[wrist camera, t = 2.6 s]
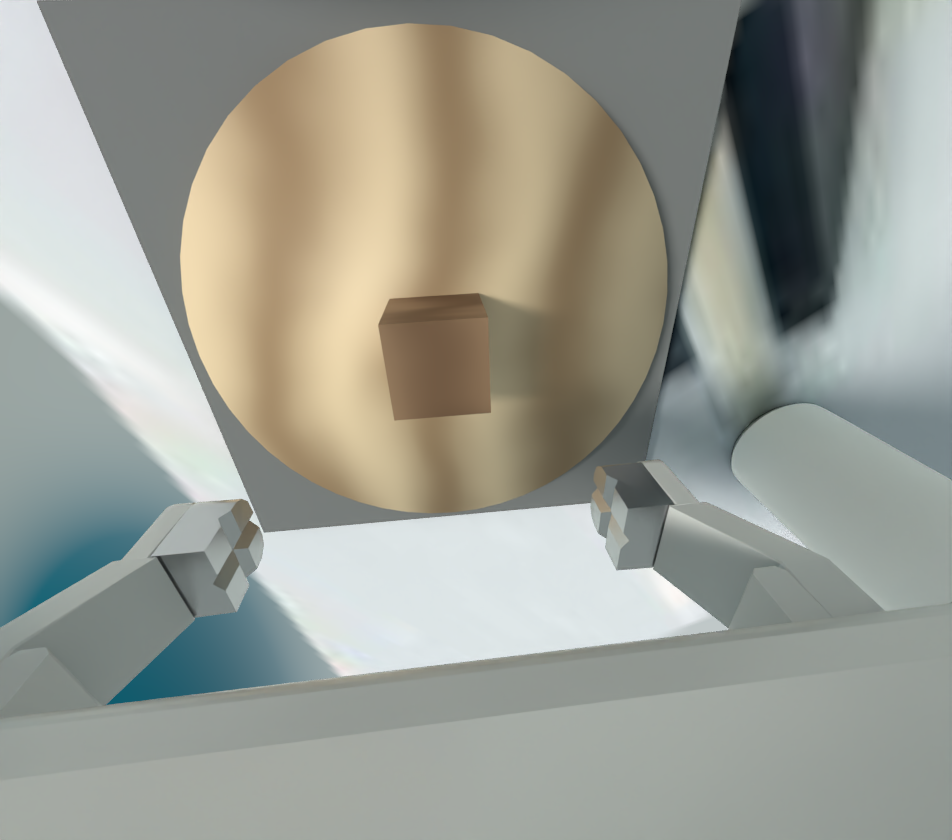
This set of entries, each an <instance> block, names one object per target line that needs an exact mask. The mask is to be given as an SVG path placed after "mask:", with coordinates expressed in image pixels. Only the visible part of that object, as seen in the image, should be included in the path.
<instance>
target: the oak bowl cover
mask: <svg viewBox="0 0 952 840" xmlns="http://www.w3.org/2000/svg"><path fill="white" fill-rule="evenodd" d="M180 264H181V280H182V293H183V298H184V303H185V308H186V313H187V318H188V323H189V327H190V330H191V333H192V336H193V339H194V342H195V345H196V347H197V350H198V353H199V356H200V358H201V360H202V362H203V364H204V366H205V368H206V370H207V372H208V375H209V377H210V379H211V381H212V383H213V385H214V386H215V388H216V389H217V391H218V392H219V394H220V395H221V397H222V398H223V400H224V402H225V403H226V405H227V406H228V408H229V409H230V410H231V412H232V413H233V414H234V415H235V417H236V418H237V419H238V420H239V421H240V423H241V424H242V425H243V426H244V427H245V429H246V430H247V431H248V432H249V433H250V434H251V435H252V436H253V437H254V438H255V439H256V440H257V441H258V442H259V443H260V444H261V445H262V446H263V447H264V448H265V449H266V450H267V451H268V452H270V453H271V454H272V455H274V456H275V457H276V458H277V459H279V460H280V461H281V462H283V463H284V464H285V465H286V466H288V467H289V468H290V469H292V470H294V471H295V472H297V473H298V474H300V475H302V476H303V477H305V478H307V479H308V480H310V481H311V482H313V483H315V484H317V485H319V486H321V487H323V488H325V489H328V490H330V491H332V492H334V493H336V494H338V495H341V496H344V497H347V498H349V499H352V500H355V501H358V502H361V503H365V504H368V505H372V506H376V507H380V508H385V509H391V510H398V511H404V512H416V513H449V512H460V511H467V510H474V509H480V508H484V507H488V506H492V505H496V504H500V503H503V502H506V501H509V500H512V499H515V498H517V497H520V496H523V495H525V494H527V493H529V492H531V491H534V490H536V489H538V488H540V487H542V486H544V485H546V484H548V483H549V482H551V481H553V480H554V479H556V478H558V477H559V476H561V475H562V474H564V473H566V472H567V471H568V470H570V469H571V468H572V467H574V466H575V465H576V464H578V463H579V462H580V461H581V460H583V459H584V458H585V457H586V456H587V455H588V454H589V453H591V452H592V451H593V450H594V449H595V448H596V447H597V446H598V445H599V444H600V443H601V442H602V441H603V440H604V439H605V438H606V437H607V435H608V434H609V433H610V432H611V431H612V430H613V428H614V427H615V426H616V425H617V424H618V423H619V421H620V420H621V418H622V417H623V415H624V414H625V413H626V411H627V410H628V408H629V407H630V405H631V404H632V402H633V401H634V399H635V397H636V395H637V393H638V391H639V390H640V388H641V386H642V384H643V382H644V380H645V378H646V376H647V373H648V371H649V368H650V366H651V363H652V361H653V358H654V355H655V353H656V350H657V346H658V342H659V338H660V334H661V331H662V327H663V323H664V315H665V307H666V299H667V255H666V247H665V239H664V231H663V226H662V223H661V219H660V215H659V211H658V208H657V204H656V200H655V197H654V194H653V191H652V189H651V187H650V184H649V182H648V180H647V177H646V175H645V173H644V170H643V168H642V166H641V163H640V161H639V160H638V158H637V156H636V155H635V153H634V151H633V150H632V148H631V146H630V145H629V143H628V142H627V140H626V138H625V137H624V135H623V133H622V132H621V130H620V129H619V128H618V127H617V125H616V124H615V123H614V122H613V120H612V119H611V118H610V117H609V116H608V114H607V113H606V112H605V111H604V110H603V108H602V107H601V106H600V105H599V104H598V102H597V101H596V100H595V99H594V98H592V97H591V96H590V95H589V94H588V93H587V92H586V91H585V90H583V89H582V88H581V87H580V86H579V85H578V84H577V83H576V82H574V81H573V80H572V79H571V78H570V77H569V76H568V75H566V74H565V73H564V72H562V71H560V70H559V69H557V68H556V67H554V66H552V65H551V64H549V63H548V62H546V61H545V60H543V59H541V58H540V57H538V56H537V55H535V54H534V53H532V52H530V51H528V50H525V49H523V48H521V47H518V46H516V45H514V44H511V43H509V42H506V41H504V40H502V39H499V38H497V37H495V36H492V35H488V34H484V33H479V32H475V31H471V30H467V29H463V28H458V27H454V26H446V25H429V24H412V23H406V24H398V25H390V26H381V27H373V28H365V29H362V30H359V31H356V32H352V33H349V34H346V35H343V36H339V37H336V38H333V39H330V40H326V41H324V42H322V43H320V44H318V45H316V46H314V47H312V48H311V49H309V50H307V51H305V52H303V53H301V54H299V55H297V56H295V57H293V58H291V59H289V60H288V61H286V62H285V63H284V64H282V65H281V66H280V67H279V68H277V69H276V70H275V71H273V72H272V73H271V74H269V75H268V76H267V77H266V78H264V79H263V80H262V81H260V82H259V83H258V84H257V85H255V86H254V87H253V89H252V90H251V91H250V92H249V93H248V94H247V95H246V96H245V97H244V98H243V100H242V101H241V102H240V103H239V104H238V105H237V106H236V107H235V108H234V110H233V111H232V112H231V113H230V114H229V115H228V116H227V118H226V120H225V121H224V123H223V124H222V126H221V128H220V129H219V131H218V132H217V134H216V135H215V137H214V139H213V140H212V142H211V143H210V145H209V147H208V148H207V150H206V152H205V155H204V157H203V160H202V162H201V164H200V167H199V169H198V171H197V174H196V176H195V179H194V181H193V183H192V187H191V191H190V195H189V199H188V203H187V207H186V211H185V216H184V220H183V229H182V241H181V252H180Z"/></svg>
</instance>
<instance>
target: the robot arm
mask: <svg viewBox="0 0 952 840" xmlns="http://www.w3.org/2000/svg"><path fill="white" fill-rule="evenodd" d="M593 481H594V482H595V484H596V486H597V489H596V490H595V491H594V493H593V494H592V495H591V514H592V519H593V522H594V526H595V528H596V530H597V532H598V533H599V534H600V535H602V536H603V537H605V538H606V545H605V548H606V550H607V552H608V554H609V556H610V558H611V560H612V562H613V564H614V566H615V568H616V570H626V569H638V568H651V567H654V568H653V569H654V570H655V571H656V572H658V573H659V574H660V575H661V576H663V577H664V578H665V579H667V580H668V581H669V582H670V583H672V584H673V585H674V586H675V587H677V588H678V589H679V590H681V591H682V592H683V593H684V594H686V595H687V596H688V597H689V598H691V599H692V600H693V601H695V602H696V603H697V604H698V605H700V606H701V607H702V608H703V609H705V610H706V611H707V612H709V613H710V614H711V615H712V616H714V617H715V618H716V619H718V620H719V621H720V622H721V623H723V624H724V625H725V626H726V627H728V628H729V629H728V630H725V631H716V632H708V633H699V634H691V635H683V636H675V637H666V638H658V639H650V640H641V641H633V642H625V643H616V644H608V645H600V646H592V647H584V648H575V649H567V650H559V651H551V652H543V653H534V654H526V655H518V656H510V657H502V658H493V659H485V660H477V661H469V662H460V663H452V664H444V665H436V666H427V667H419V668H411V669H402V670H394V671H386V672H377V673H369V674H361V675H352V676H344V677H336V678H327V679H319V680H311V681H303V682H294V683H286V684H278V685H269V686H261V687H254V688H245V689H237V690H228V691H221V692H212V693H203V694H195V695H187V696H179V697H170V698H162V699H154V700H145V701H137V702H129V703H120V704H112V705H106V704H107V703H108V702H109V701H110V700H111V699H112V698H113V697H114V696H115V695H116V694H117V693H119V692H120V691H121V690H122V689H123V688H124V687H125V686H126V685H127V684H128V683H129V682H130V681H131V680H132V679H133V678H134V677H135V676H136V675H137V674H139V672H141V671H142V670H143V669H144V668H145V667H146V666H147V665H148V664H149V663H150V662H151V661H152V660H153V659H154V658H155V657H156V656H157V655H158V654H160V652H162V651H163V650H164V649H165V648H166V647H167V646H168V645H169V644H170V643H171V642H172V641H173V640H174V639H175V638H176V637H177V636H178V635H179V634H180V633H182V632H183V631H184V630H185V629H186V628H187V627H188V626H189V625H190V624H191V623H192V622H193V621H194V620H195V619H194V618H195V617H202V616H210V615H217V614H225V613H232V612H237V610H238V608H239V606H240V604H241V601H242V599H243V597H244V595H245V593H246V591H247V589H248V587H249V583H248V581H247V579H246V577H247V576H249V575H250V574H251V573H252V572H253V571H255V570H256V569H257V568H258V565H259V563H260V561H261V559H262V554H263V547H264V543H263V536H262V533H261V531H260V528H259V527H258V526H257V525H255V524H254V523H252V522H251V521H249V520H250V518H251V516H252V514H253V511H252V509H251V507H250V505H249V503H248V501H245V500H243V499H236V500H222V501H208V502H197V503H184V504H174V505H172V506H169V507H167V508H166V509H165V511H164V512H163V513H162V514H161V515H160V516H159V517H158V519H157V520H156V521H155V522H154V523H153V524H152V525H151V527H150V528H149V529H148V530H147V531H146V532H145V533H144V535H143V536H142V537H141V538H140V539H139V540H138V542H137V543H136V544H135V545H134V546H133V547H132V549H131V550H130V551H129V552H128V553H127V554H126V555H125V557H124V558H123V559H122V560H121V561H113V562H111V563H109V564H108V565H106V566H104V567H103V568H101V569H99V570H98V571H96V572H94V573H92V574H91V575H89V576H87V577H86V578H84V579H82V580H81V581H79V582H77V583H76V584H74V585H72V586H70V587H69V588H67V589H65V590H64V591H62V592H60V593H59V594H57V595H55V596H53V597H52V598H50V599H49V600H47V601H45V602H43V603H42V604H40V605H38V606H37V607H35V608H33V609H31V610H30V611H28V612H26V613H25V614H23V615H21V616H20V617H18V618H16V619H15V620H13V621H11V622H10V623H8V624H6V625H4V626H3V627H1V628H0V840H952V603H948V604H940V605H932V606H924V607H915V608H907V609H899V610H890V611H885V610H884V609H883V608H882V607H881V606H879V605H878V604H877V603H876V602H875V601H874V600H873V599H872V598H871V597H870V596H869V595H867V594H866V593H865V592H864V591H863V590H862V589H861V588H860V587H859V586H858V585H857V584H855V583H854V582H853V581H852V580H851V579H850V578H849V577H848V576H847V575H846V574H845V573H843V572H842V571H841V570H840V569H839V568H838V567H837V566H836V565H835V564H834V563H833V562H831V561H830V560H829V559H828V558H826V557H824V556H822V555H819V554H817V553H815V552H813V551H811V550H809V549H806V548H804V547H802V546H800V545H798V544H796V543H793V542H791V541H789V540H787V539H785V538H783V537H780V536H778V535H776V534H774V533H772V532H770V531H768V530H765V529H763V528H761V527H759V526H757V525H755V524H752V523H750V522H748V521H746V520H744V519H742V518H739V517H737V516H735V515H733V514H731V513H729V512H727V511H724V510H722V509H720V508H718V507H716V506H714V505H711V504H709V503H707V502H700V503H699V502H698V500H697V499H696V498H695V497H694V496H693V495H692V494H691V492H690V491H689V490H688V489H687V488H686V487H685V486H684V485H683V483H682V482H681V481H680V480H679V479H678V478H677V477H676V476H675V474H674V473H673V472H672V471H671V470H670V469H669V468H668V466H667V465H666V464H665V463H664V462H663V461H661V460H659V459H656V460H648V461H640V462H637V463H627V464H616V465H606V466H597V467H596V470H595V472H594V479H593Z"/></svg>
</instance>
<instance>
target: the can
mask: <svg viewBox="0 0 952 840" xmlns="http://www.w3.org/2000/svg"><path fill="white" fill-rule="evenodd" d="M731 467H732V471H733V474H734V476H735V477H736V478H737V479H738V481H739V482H740V483H741V484H742V485H743V486H744V487H745V488H746V489H747V490H748V491H749V492H750V493H751V494H752V495H753V496H754V497H755V498H756V499H757V500H758V501H760V502H761V503H762V504H763V505H764V506H765V507H766V508H767V509H768V510H769V511H770V512H771V513H772V514H773V515H774V516H775V517H776V518H777V519H778V520H779V521H780V522H781V523H782V524H783V525H784V526H785V527H786V528H787V529H788V530H789V531H790V532H791V533H792V534H793V535H794V536H795V537H796V538H797V539H799V540H800V541H801V542H802V543H803V544H804V545H805V546H806V547H807V548H808V549H809V550H811V551H813V552H815V553H817V554H819V555H822V556H824V557H826V558H828V559H829V560H830V561H831V562H833V563H834V564H835V565H836V566H837V567H838V568H839V569H840V570H841V571H842V572H843V573H845V574H846V575H847V576H848V577H849V578H850V579H851V580H852V581H853V582H854V583H855V584H857V585H858V586H859V587H860V588H861V589H862V590H863V591H864V592H865V593H866V594H867V595H869V596H870V597H871V598H872V599H873V600H874V601H875V602H876V603H877V604H878V605H879V606H881V607H882V608H883V609H884V610H885V611H890V610H899V609H907V608H915V607H924V606H932V605H940V604H948V603H952V480H951V479H949V478H947V477H946V476H944V475H942V474H940V473H939V472H937V471H935V470H933V469H931V468H930V467H928V466H926V465H924V464H923V463H921V462H919V461H917V460H916V459H914V458H912V457H910V456H909V455H907V454H905V453H903V452H901V451H900V450H898V449H896V448H894V447H893V446H891V445H889V444H887V443H886V442H884V441H882V440H880V439H878V438H877V437H875V436H873V435H871V434H870V433H868V432H866V431H864V430H862V429H861V428H859V427H857V426H855V425H854V424H852V423H850V422H848V421H846V420H845V419H843V418H841V417H839V416H837V415H836V414H834V413H832V412H830V411H828V410H826V409H825V408H822V407H820V406H818V405H815V404H808V403H800V404H793V405H787V406H782V407H779V408H776V409H774V410H771V411H769V412H767V413H765V414H764V415H762V416H760V417H759V418H757V419H756V420H755V421H753V422H752V423H751V424H750V425H749V426H748V427H747V428H746V429H745V430H744V431H743V432H742V434H741V435H740V436H739V438H738V440H737V441H736V443H735V445H734V448H733V452H732V459H731Z"/></svg>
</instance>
